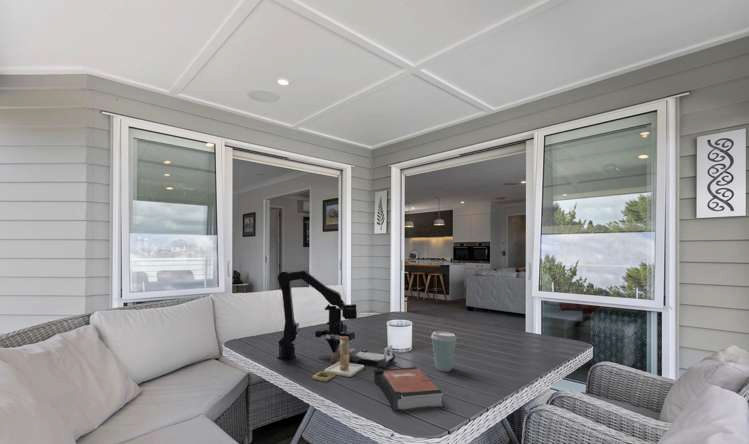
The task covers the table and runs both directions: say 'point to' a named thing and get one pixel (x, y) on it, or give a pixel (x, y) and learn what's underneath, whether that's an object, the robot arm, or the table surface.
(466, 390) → the table surface
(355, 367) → the tray
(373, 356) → the trolley
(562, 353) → the table surface
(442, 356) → the disposable coffee cup
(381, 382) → the book
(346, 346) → the pin
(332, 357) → the bar
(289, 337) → the robot arm
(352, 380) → the table surface
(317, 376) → the pin socket
